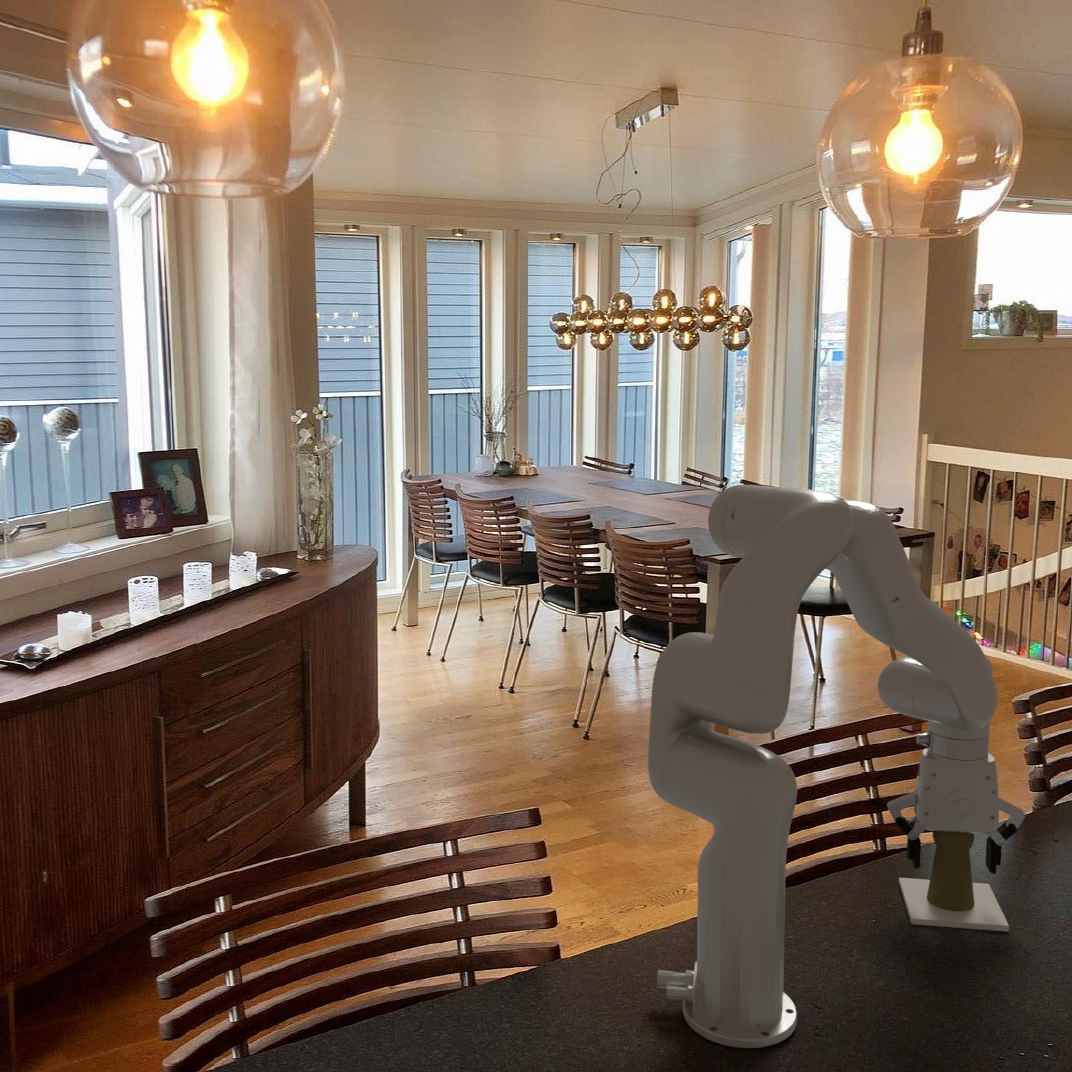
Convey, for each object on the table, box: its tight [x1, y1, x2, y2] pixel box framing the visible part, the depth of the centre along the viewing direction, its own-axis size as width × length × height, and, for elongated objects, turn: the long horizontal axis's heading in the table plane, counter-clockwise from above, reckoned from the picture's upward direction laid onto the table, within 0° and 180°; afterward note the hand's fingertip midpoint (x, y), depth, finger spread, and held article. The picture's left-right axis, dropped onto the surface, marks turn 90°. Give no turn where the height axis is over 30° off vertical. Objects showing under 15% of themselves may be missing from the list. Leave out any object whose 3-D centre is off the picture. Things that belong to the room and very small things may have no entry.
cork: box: [927, 831, 975, 911], centre depth 145 cm, size 6×6×11 cm
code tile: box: [898, 877, 1010, 933], centre depth 146 cm, size 12×12×1 cm
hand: (952, 866), depth 146 cm, fingers open, 9 cm apart
